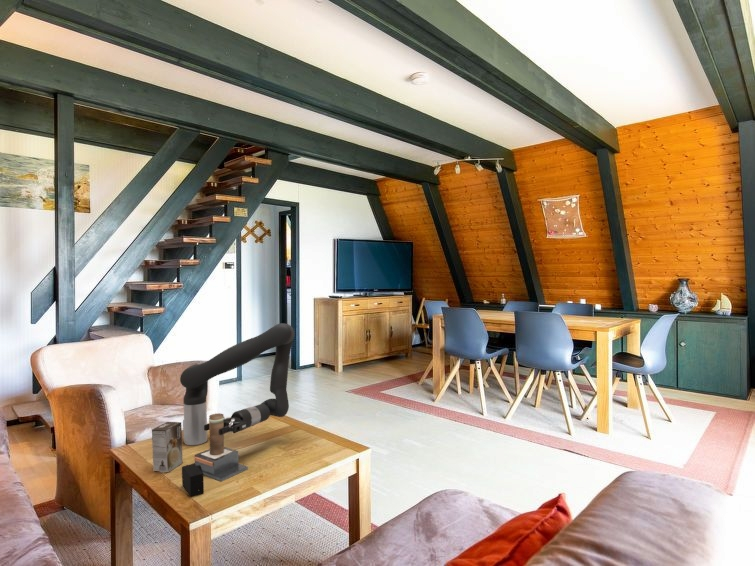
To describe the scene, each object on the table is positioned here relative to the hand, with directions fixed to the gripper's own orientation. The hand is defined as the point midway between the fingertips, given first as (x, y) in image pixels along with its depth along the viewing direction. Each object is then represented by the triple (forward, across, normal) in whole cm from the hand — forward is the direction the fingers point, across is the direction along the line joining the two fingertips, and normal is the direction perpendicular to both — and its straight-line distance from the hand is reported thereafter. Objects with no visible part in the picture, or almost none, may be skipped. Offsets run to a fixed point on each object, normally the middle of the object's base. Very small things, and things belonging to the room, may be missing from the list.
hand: (211, 430), depth 173 cm
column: (-2, 0, +9) cm, 9 cm away
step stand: (-2, 0, +15) cm, 15 cm away
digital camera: (+13, +7, +16) cm, 21 cm away
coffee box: (+7, -17, +15) cm, 24 cm away
